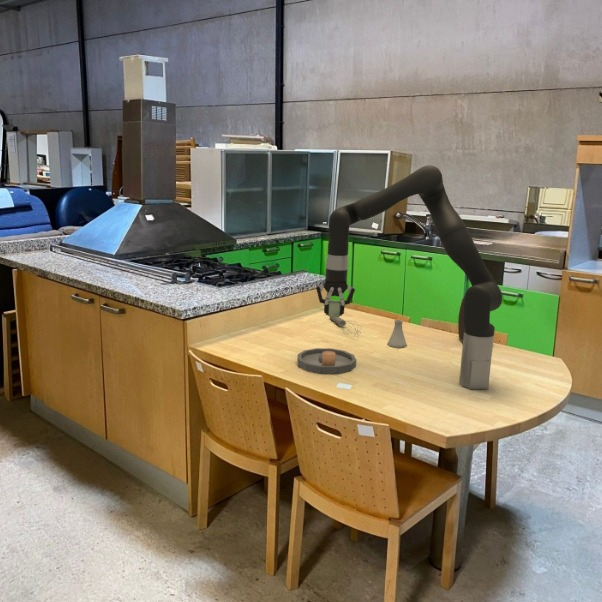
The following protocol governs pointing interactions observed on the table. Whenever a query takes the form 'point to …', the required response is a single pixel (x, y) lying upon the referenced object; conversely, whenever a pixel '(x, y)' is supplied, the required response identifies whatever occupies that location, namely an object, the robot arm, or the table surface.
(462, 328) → the small grey backpack
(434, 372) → the table surface
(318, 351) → the ring tray
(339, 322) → the kitchen whisk
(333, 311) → the pale green rounded cylinder
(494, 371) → the table surface
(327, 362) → the terracotta bead
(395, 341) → the flask
